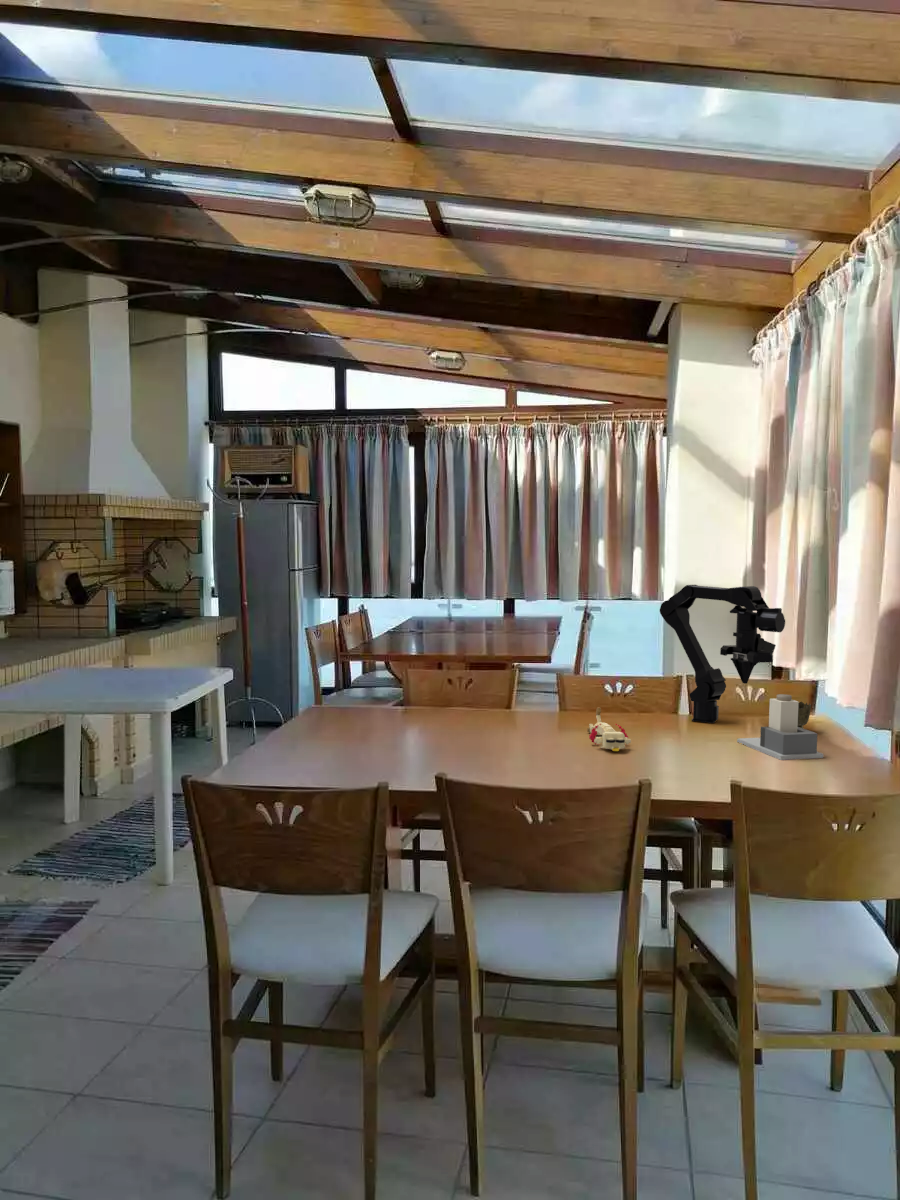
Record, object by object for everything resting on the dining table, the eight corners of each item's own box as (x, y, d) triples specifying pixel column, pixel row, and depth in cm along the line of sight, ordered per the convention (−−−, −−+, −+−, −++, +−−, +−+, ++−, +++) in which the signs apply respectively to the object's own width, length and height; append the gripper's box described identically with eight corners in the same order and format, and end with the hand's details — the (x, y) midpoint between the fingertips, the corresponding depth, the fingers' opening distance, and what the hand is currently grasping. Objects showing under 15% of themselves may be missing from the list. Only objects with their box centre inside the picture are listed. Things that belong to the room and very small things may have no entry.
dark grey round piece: (806, 728, 263) (807, 701, 262) (813, 733, 255) (814, 705, 255) (779, 727, 263) (780, 700, 263) (786, 732, 256) (787, 704, 255)
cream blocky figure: (579, 737, 252) (597, 751, 227) (579, 706, 253) (597, 716, 228) (614, 738, 253) (636, 751, 228) (615, 706, 253) (636, 716, 228)
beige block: (768, 744, 235) (769, 694, 234) (785, 743, 236) (787, 693, 235) (779, 748, 230) (781, 697, 229) (796, 747, 231) (798, 696, 230)
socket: (737, 742, 243) (737, 720, 243) (776, 740, 246) (777, 718, 245) (780, 759, 224) (781, 735, 223) (823, 757, 226) (824, 734, 226)
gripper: (790, 632, 253) (788, 687, 254) (753, 626, 271) (751, 677, 272) (755, 633, 251) (753, 688, 252) (720, 626, 269) (718, 678, 270)
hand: (744, 683), depth 262 cm, fingers closed
